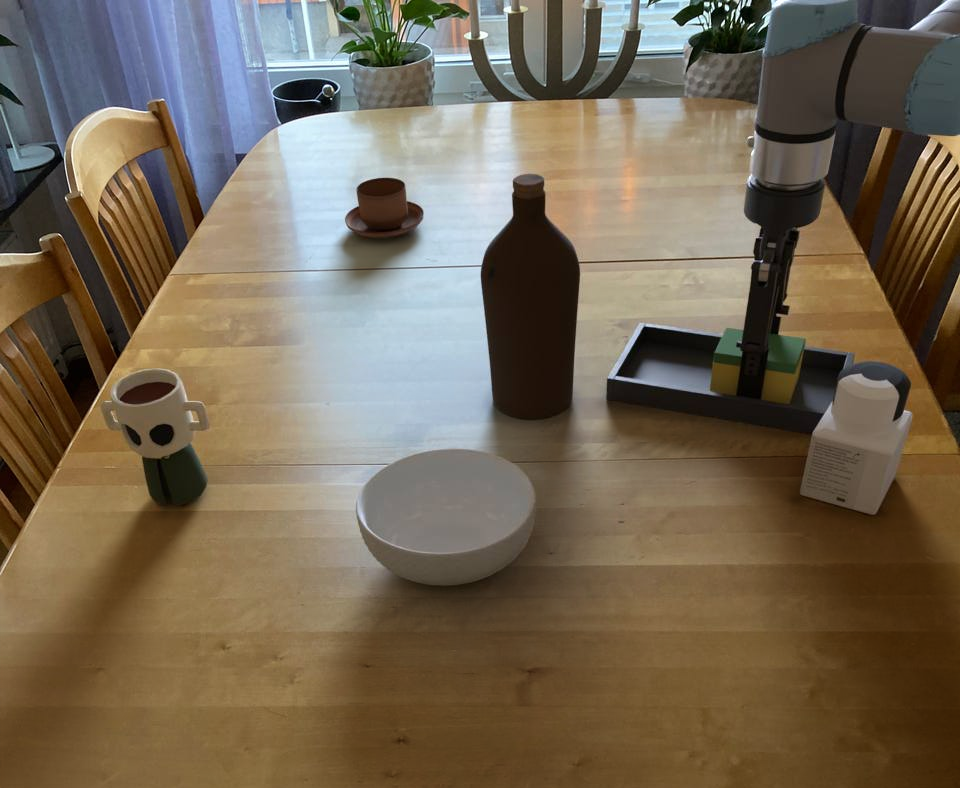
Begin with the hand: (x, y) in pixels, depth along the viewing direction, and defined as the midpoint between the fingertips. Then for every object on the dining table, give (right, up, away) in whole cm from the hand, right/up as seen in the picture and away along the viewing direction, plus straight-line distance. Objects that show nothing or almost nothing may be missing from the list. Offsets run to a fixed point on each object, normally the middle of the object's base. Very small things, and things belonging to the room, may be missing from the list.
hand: (754, 382), depth 115 cm
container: (+6, -14, -12) cm, 20 cm away
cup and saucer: (-46, +33, +38) cm, 68 cm away
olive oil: (-25, -1, +2) cm, 26 cm away
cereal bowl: (-34, -21, -17) cm, 44 cm away
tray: (-3, 0, +2) cm, 3 cm away
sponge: (0, 0, 0) cm, 0 cm away
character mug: (-64, -14, -7) cm, 66 cm away
